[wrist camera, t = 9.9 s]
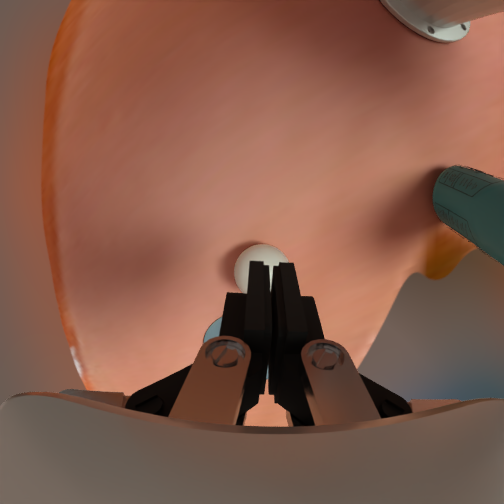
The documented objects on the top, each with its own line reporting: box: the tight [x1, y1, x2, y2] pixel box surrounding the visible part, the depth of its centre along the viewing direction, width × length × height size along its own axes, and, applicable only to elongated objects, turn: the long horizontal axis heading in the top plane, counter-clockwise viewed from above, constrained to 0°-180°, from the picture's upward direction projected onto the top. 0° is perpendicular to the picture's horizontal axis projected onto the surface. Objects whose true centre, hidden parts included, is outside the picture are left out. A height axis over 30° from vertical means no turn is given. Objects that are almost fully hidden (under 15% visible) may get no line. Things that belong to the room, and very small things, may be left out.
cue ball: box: [234, 244, 289, 294], centre depth 25 cm, size 5×5×5 cm
